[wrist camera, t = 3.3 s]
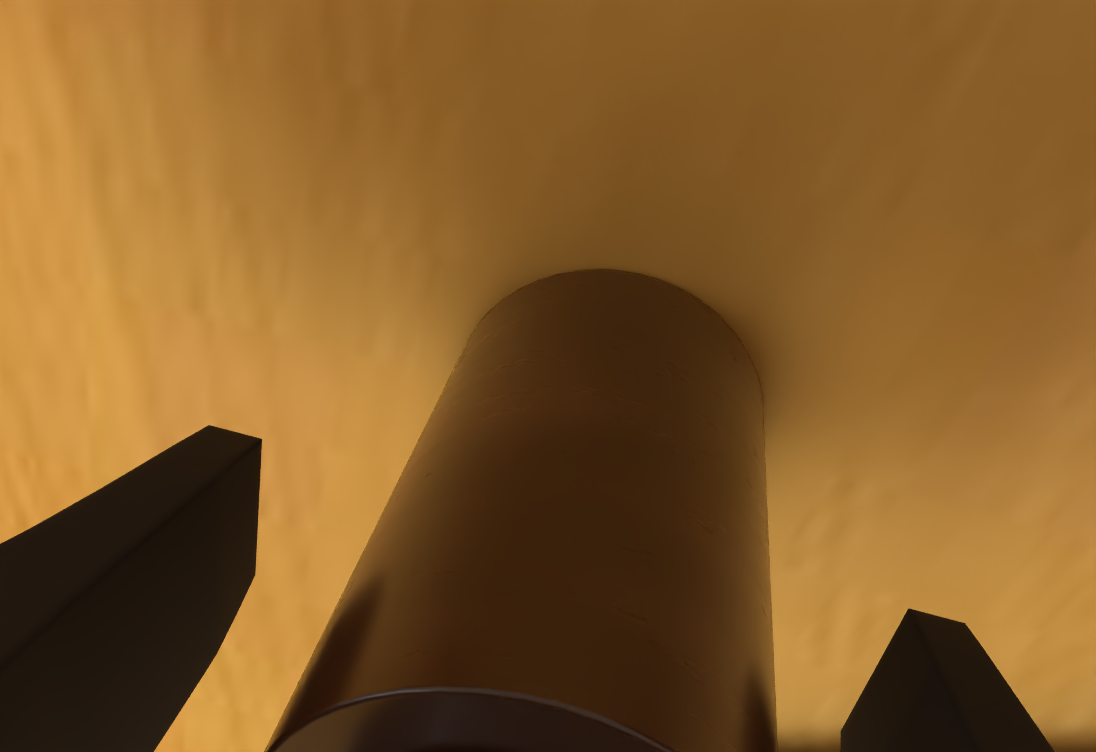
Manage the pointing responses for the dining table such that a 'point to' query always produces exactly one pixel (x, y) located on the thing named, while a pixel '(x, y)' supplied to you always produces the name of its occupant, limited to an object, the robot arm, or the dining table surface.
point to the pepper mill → (565, 546)
